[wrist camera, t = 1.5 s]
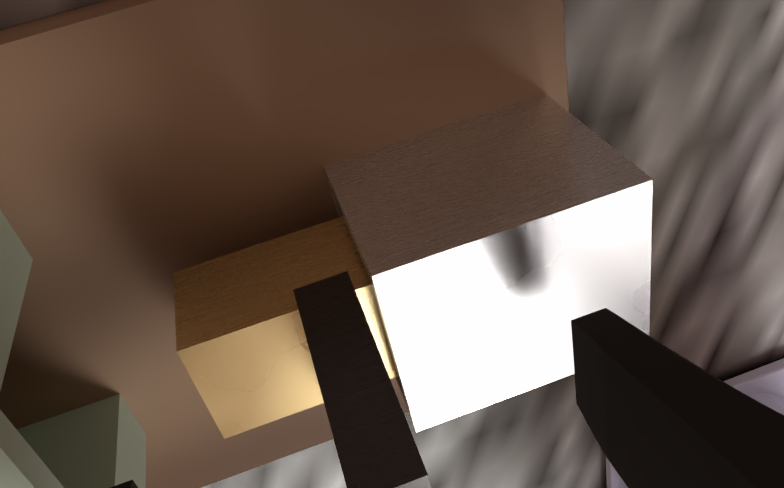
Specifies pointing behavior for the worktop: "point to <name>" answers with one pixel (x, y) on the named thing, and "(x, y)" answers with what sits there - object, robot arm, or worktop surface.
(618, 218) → the white cardboard cube
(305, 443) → the walnut board
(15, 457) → the socket block
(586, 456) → the worktop surface
